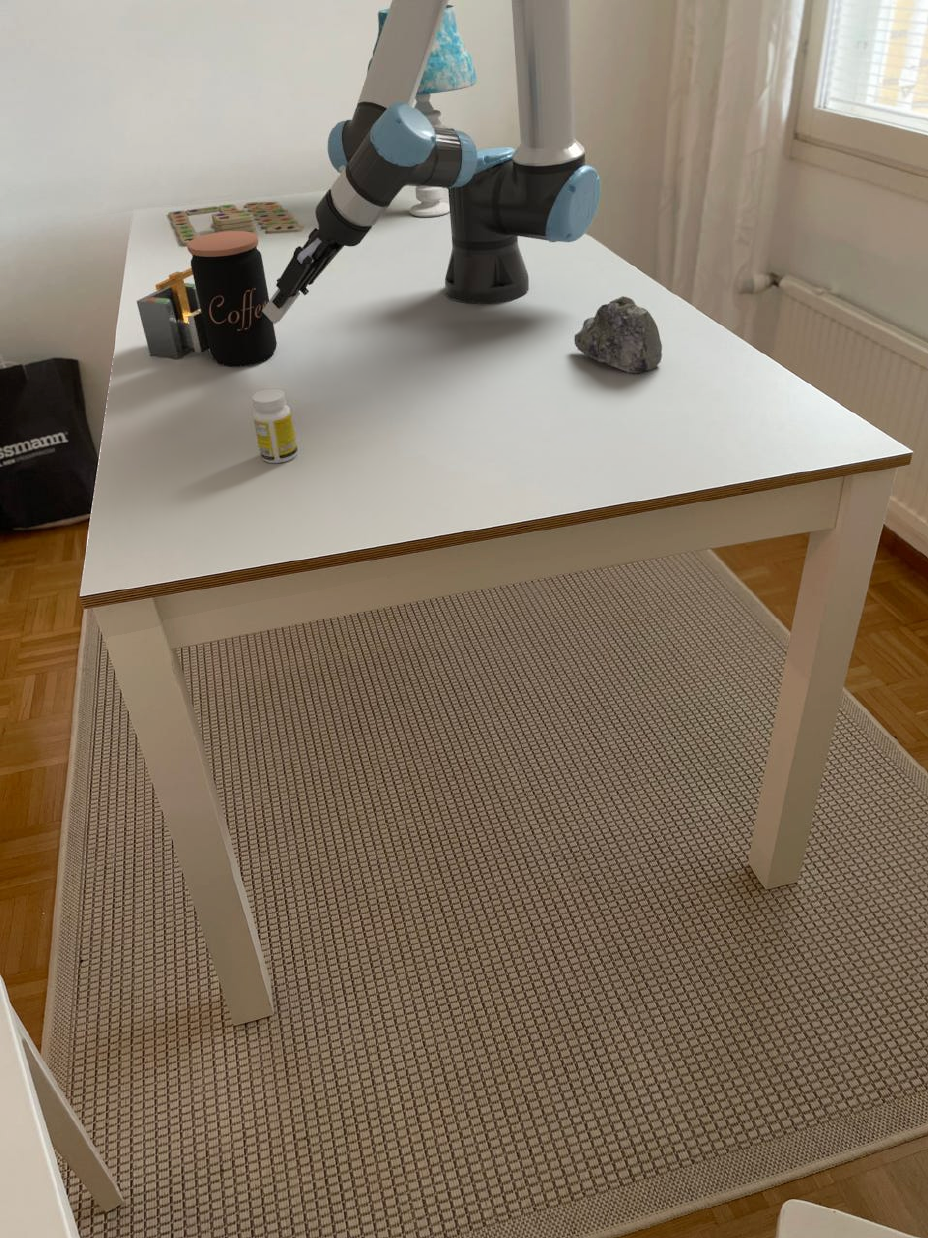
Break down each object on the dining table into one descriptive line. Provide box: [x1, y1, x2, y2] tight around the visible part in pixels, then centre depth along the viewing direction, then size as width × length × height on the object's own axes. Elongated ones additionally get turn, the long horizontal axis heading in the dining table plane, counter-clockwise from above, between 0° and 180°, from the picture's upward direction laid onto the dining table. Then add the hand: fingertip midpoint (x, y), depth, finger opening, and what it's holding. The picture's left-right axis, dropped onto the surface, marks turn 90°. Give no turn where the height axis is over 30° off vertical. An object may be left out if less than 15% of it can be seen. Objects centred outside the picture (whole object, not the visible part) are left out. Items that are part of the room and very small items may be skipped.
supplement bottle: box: [252, 388, 298, 464], centre depth 125 cm, size 5×5×8 cm
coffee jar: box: [186, 231, 277, 368], centre depth 153 cm, size 11×11×18 cm
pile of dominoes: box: [168, 201, 304, 248], centre depth 227 cm, size 35×27×6 cm
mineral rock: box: [574, 295, 663, 375], centre depth 145 cm, size 13×11×10 cm
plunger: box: [155, 267, 209, 354], centre depth 157 cm, size 6×9×11 cm, turn 156°
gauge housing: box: [136, 282, 200, 360], centre depth 160 cm, size 6×9×9 cm, turn 156°
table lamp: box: [366, 4, 478, 218], centre depth 214 cm, size 24×24×40 cm
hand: (270, 315), depth 151 cm, fingers closed
